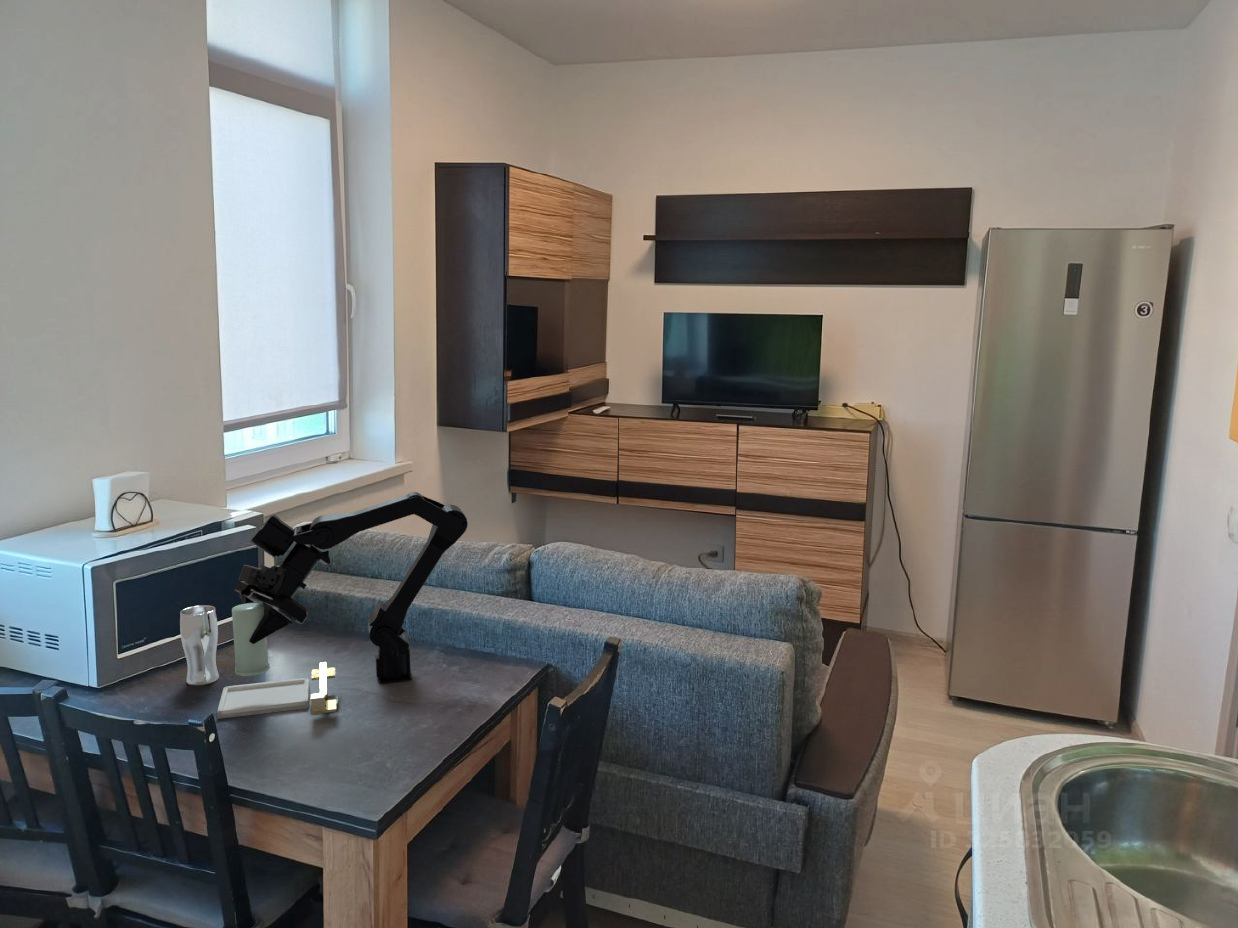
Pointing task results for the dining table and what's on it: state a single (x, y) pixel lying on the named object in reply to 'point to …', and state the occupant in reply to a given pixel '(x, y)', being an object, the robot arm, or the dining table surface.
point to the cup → (247, 654)
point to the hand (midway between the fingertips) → (243, 638)
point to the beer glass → (200, 643)
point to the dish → (264, 698)
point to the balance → (323, 691)
